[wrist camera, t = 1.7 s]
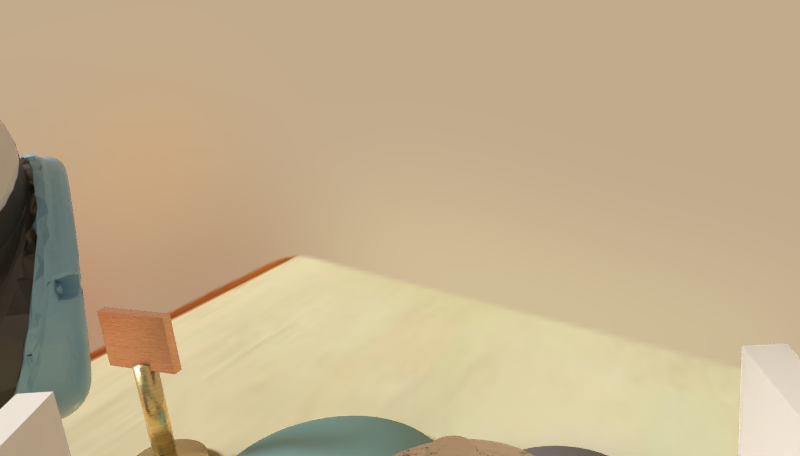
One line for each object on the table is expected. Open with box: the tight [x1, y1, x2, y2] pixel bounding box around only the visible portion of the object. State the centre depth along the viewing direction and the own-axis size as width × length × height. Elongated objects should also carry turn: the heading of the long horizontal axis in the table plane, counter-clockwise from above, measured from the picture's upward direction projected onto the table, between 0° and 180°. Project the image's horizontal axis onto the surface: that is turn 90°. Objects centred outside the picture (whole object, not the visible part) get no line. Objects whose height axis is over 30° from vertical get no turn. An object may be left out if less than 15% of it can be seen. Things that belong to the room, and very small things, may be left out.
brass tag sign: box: [97, 307, 208, 456], centre depth 46 cm, size 5×5×11 cm
